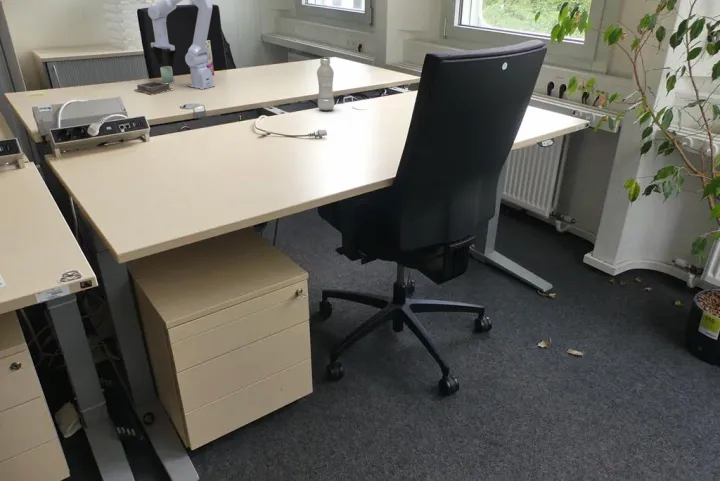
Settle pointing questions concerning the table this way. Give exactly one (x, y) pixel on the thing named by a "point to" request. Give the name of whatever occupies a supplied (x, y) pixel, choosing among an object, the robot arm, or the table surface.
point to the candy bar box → (210, 61)
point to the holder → (152, 87)
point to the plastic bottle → (325, 85)
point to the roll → (167, 74)
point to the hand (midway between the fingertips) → (165, 64)
